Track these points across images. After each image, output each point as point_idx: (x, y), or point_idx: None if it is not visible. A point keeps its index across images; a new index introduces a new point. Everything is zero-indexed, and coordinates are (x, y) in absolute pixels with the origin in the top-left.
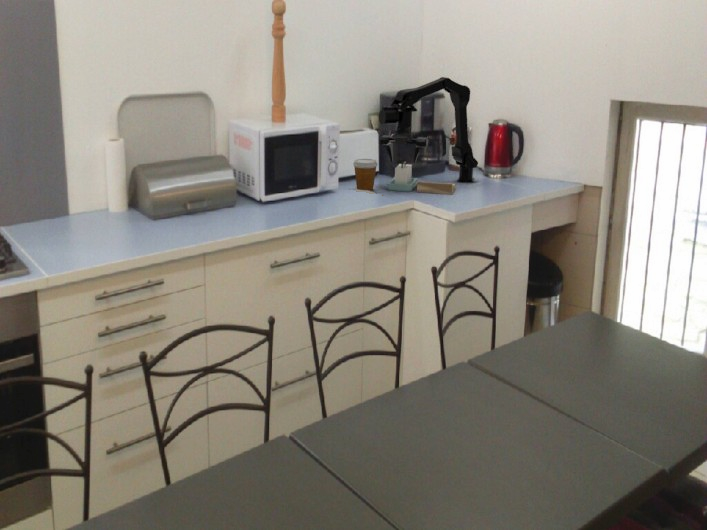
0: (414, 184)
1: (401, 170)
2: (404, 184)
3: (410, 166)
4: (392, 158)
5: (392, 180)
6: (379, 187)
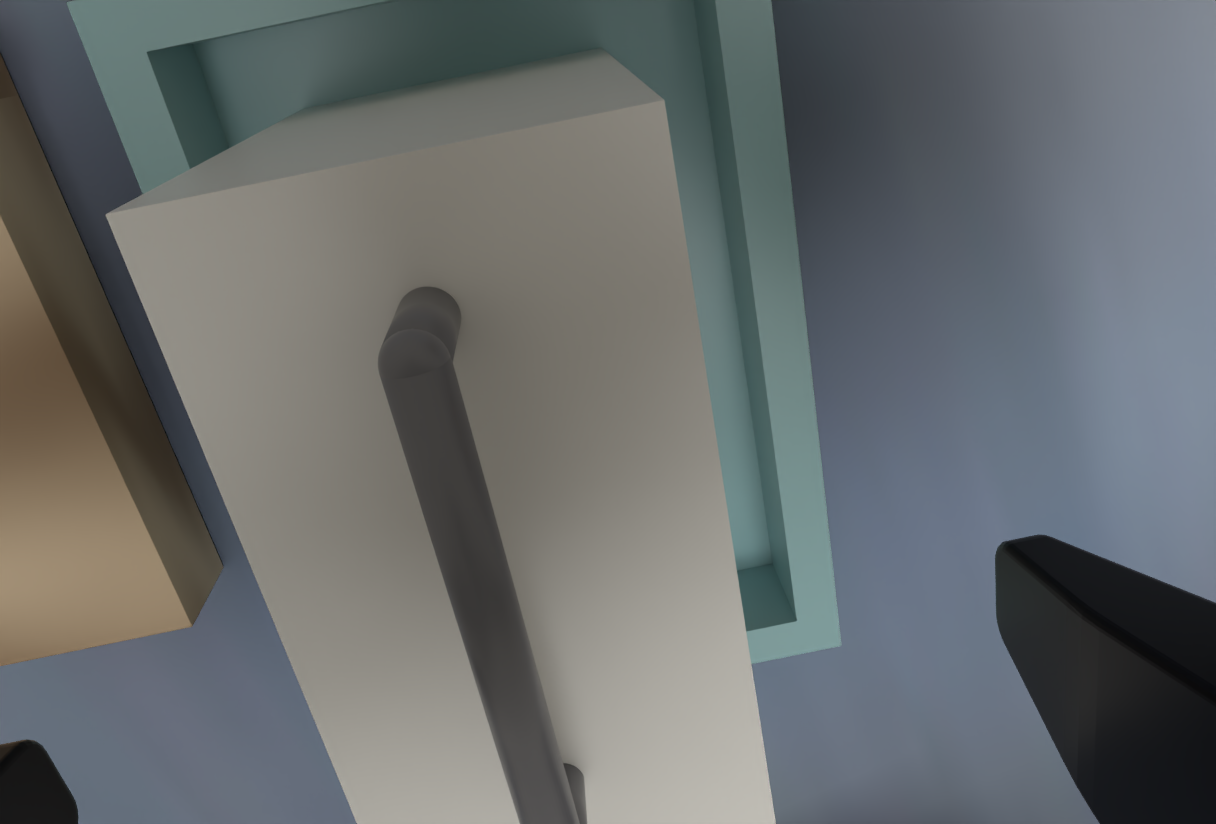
0: None
1: (384, 143)
2: (295, 16)
3: (326, 727)
4: (1067, 673)
5: (769, 311)
6: (976, 50)
